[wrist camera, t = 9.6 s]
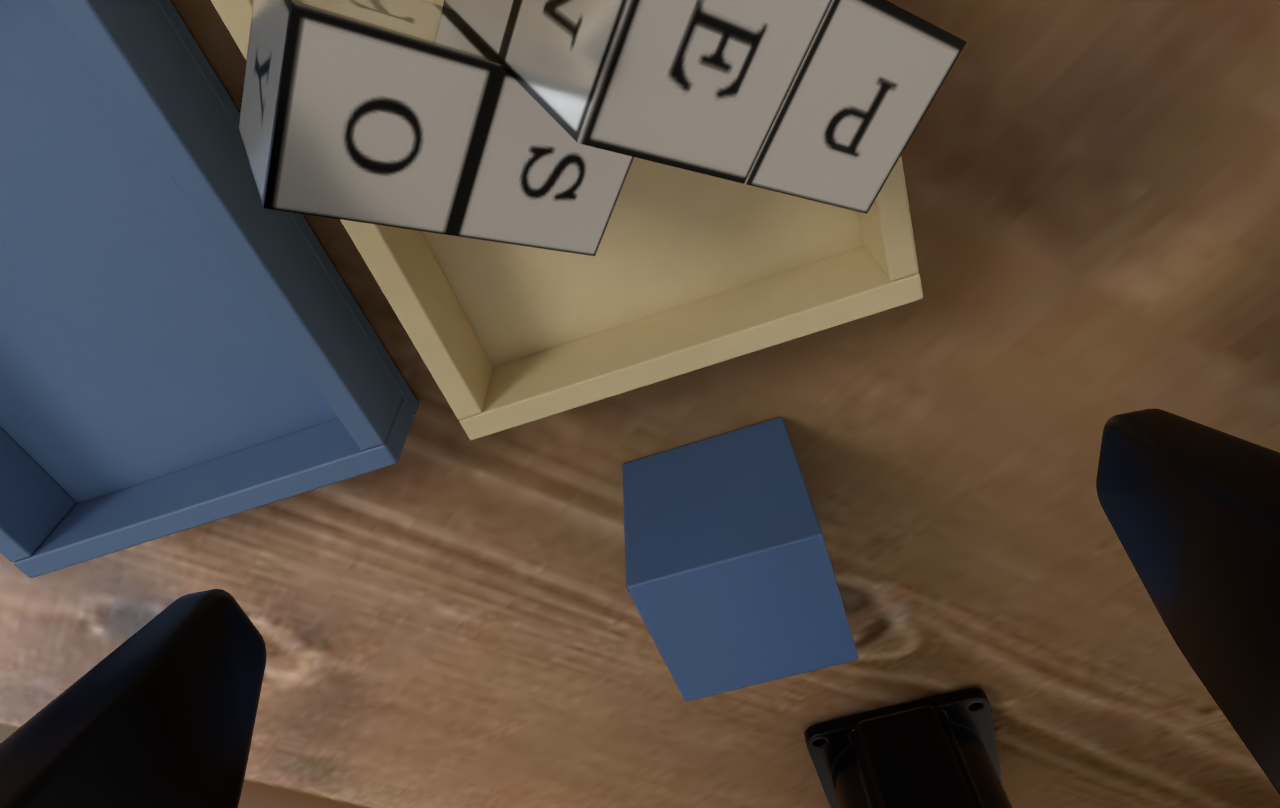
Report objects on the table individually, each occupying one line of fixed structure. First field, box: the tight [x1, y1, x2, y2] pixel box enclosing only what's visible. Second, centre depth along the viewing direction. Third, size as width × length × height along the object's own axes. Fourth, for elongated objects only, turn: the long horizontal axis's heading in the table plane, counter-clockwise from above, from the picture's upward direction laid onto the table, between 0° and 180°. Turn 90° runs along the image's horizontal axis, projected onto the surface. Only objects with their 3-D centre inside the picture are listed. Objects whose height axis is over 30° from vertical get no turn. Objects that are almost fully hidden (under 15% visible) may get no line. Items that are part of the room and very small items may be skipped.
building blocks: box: [238, 0, 966, 256], centre depth 11 cm, size 5×5×8 cm
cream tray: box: [211, 0, 923, 440], centre depth 14 cm, size 13×10×2 cm
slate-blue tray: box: [0, 0, 419, 578], centre depth 16 cm, size 13×10×2 cm
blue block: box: [622, 417, 858, 701], centre depth 20 cm, size 4×4×4 cm
